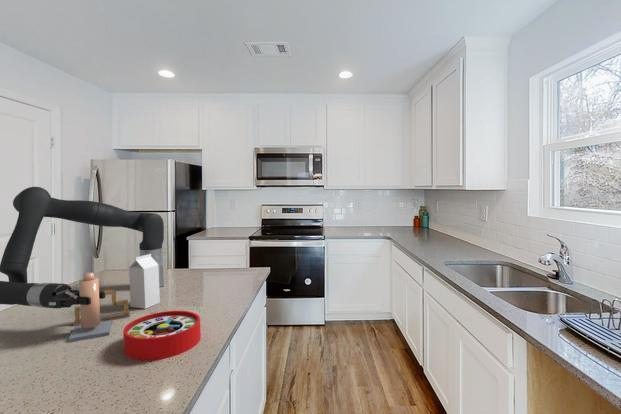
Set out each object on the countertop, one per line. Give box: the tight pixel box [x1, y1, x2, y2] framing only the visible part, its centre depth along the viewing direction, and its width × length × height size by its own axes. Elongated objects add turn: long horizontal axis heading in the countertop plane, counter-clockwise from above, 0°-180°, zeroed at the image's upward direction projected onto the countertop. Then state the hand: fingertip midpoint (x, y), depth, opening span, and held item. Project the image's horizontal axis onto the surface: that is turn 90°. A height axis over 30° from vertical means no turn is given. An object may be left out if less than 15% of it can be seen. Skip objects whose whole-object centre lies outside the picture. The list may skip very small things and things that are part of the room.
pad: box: [68, 320, 113, 343], centre depth 103 cm, size 10×10×1 cm
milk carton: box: [128, 254, 161, 310], centre depth 126 cm, size 7×7×19 cm
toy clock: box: [122, 310, 202, 361], centre depth 96 cm, size 20×6×20 cm
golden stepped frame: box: [72, 289, 131, 327], centre depth 113 cm, size 16×3×10 cm, turn 117°
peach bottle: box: [78, 272, 101, 328], centre depth 103 cm, size 5×5×16 cm
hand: (97, 297), depth 102 cm, fingers closed on peach bottle, 5 cm apart
